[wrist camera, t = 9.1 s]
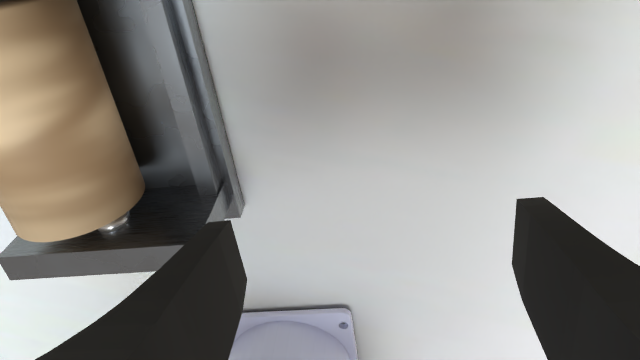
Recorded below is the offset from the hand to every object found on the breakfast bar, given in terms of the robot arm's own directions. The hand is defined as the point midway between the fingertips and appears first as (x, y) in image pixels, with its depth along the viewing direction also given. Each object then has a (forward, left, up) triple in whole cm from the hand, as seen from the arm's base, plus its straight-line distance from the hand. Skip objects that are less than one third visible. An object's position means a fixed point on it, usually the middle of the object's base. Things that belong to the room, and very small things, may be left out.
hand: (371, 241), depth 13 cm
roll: (+2, +11, -9) cm, 14 cm away
